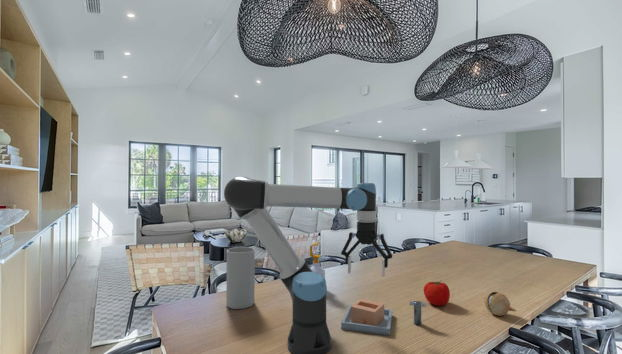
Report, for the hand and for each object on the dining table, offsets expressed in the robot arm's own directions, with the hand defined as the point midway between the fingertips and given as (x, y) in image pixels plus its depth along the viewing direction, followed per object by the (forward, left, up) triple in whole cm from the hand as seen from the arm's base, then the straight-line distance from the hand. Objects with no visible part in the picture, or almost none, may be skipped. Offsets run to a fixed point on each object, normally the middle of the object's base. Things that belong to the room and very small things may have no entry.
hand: (366, 274), depth 125 cm
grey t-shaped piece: (+4, -20, -19) cm, 27 cm away
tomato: (+28, -29, -19) cm, 44 cm away
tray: (0, -1, -19) cm, 19 cm away
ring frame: (0, -1, -18) cm, 18 cm away
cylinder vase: (+1, +57, -19) cm, 61 cm away
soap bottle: (+29, +29, -19) cm, 46 cm away
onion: (+22, -53, -19) cm, 60 cm away
